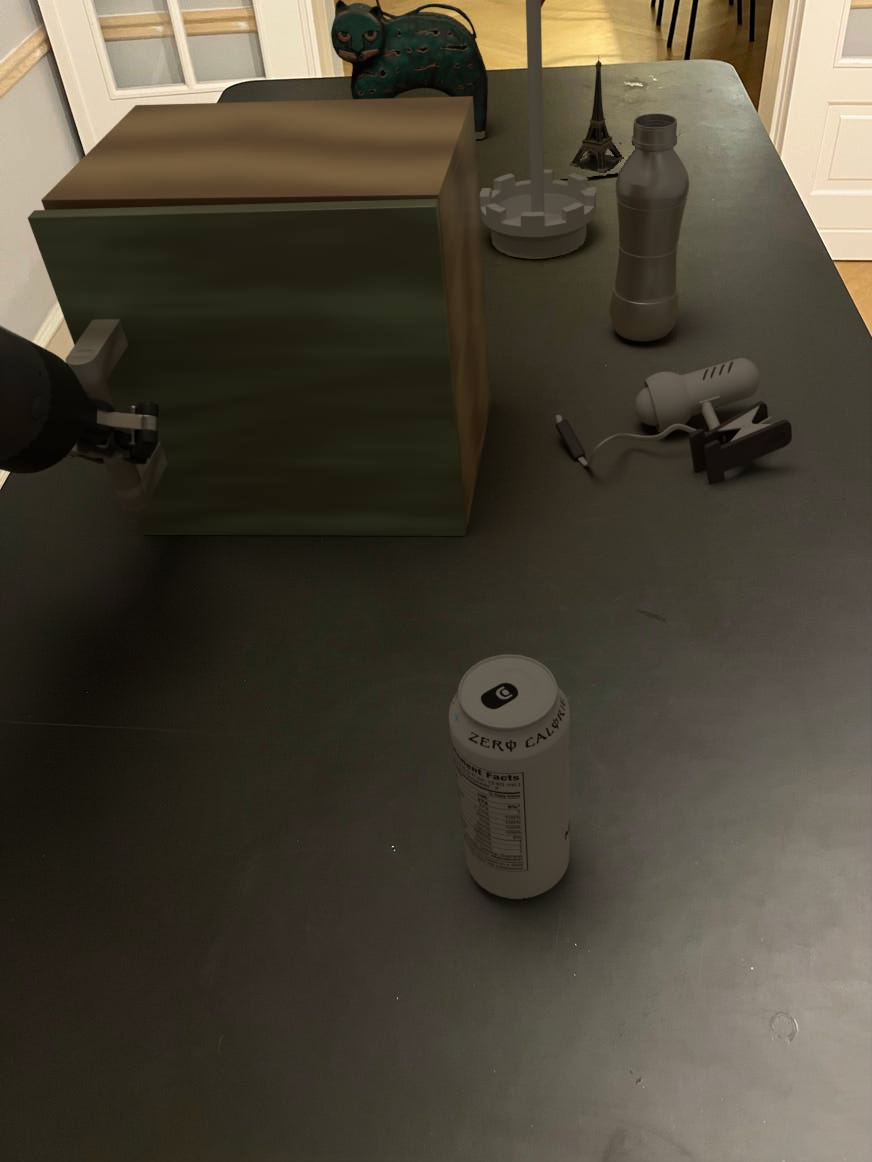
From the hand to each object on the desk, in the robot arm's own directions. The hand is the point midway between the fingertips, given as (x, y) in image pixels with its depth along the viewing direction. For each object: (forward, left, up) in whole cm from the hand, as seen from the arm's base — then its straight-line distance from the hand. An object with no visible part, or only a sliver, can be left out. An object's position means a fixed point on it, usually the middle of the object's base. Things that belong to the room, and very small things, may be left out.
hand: (124, 449), depth 74 cm
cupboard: (+10, +15, -11) cm, 21 cm away
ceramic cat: (+6, +91, -11) cm, 92 cm away
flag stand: (+25, +59, -11) cm, 65 cm away
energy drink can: (+30, -25, -11) cm, 41 cm away
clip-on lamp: (+39, +17, -11) cm, 44 cm away
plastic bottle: (+37, +37, -11) cm, 54 cm away
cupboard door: (+10, +2, -11) cm, 15 cm away
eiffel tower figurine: (+31, +81, -11) cm, 88 cm away
